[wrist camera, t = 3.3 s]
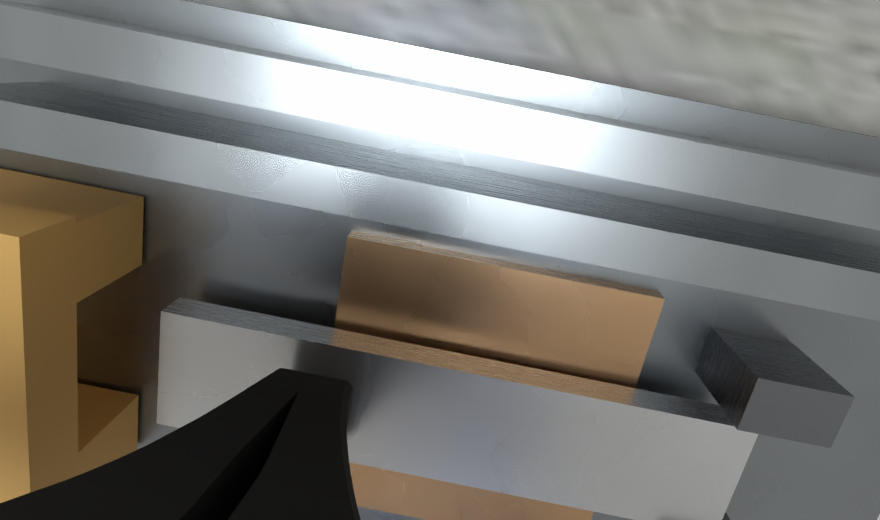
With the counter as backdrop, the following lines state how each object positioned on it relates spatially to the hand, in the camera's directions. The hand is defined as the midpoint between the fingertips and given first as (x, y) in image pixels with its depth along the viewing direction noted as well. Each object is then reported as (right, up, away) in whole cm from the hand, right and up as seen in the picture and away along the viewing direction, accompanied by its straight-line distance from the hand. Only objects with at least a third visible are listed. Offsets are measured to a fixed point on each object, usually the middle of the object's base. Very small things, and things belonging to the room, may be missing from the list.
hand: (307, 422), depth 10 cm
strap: (+3, 0, +1) cm, 3 cm away
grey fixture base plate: (+2, +2, +3) cm, 5 cm away
